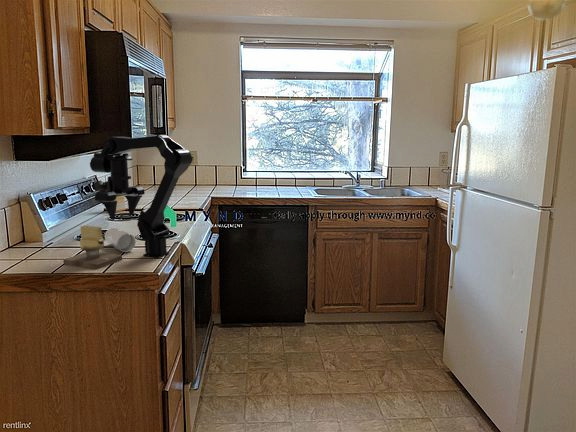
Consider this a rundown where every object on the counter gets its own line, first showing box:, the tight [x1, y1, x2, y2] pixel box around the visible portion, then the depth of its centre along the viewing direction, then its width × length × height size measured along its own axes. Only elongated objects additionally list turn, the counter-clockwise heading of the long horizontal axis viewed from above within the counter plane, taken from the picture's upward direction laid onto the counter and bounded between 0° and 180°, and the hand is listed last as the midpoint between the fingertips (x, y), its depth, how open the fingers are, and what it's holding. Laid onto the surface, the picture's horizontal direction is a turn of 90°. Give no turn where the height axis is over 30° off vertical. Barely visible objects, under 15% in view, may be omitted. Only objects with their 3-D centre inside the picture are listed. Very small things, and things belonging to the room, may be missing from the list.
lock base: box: [62, 249, 123, 270], centre depth 150 cm, size 14×11×4 cm
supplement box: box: [114, 195, 127, 213], centre depth 240 cm, size 8×5×13 cm, turn 149°
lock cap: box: [79, 225, 105, 252], centre depth 149 cm, size 8×7×7 cm
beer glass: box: [104, 227, 137, 253], centre depth 168 cm, size 7×7×15 cm
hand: (122, 217), depth 162 cm, fingers open, 9 cm apart
